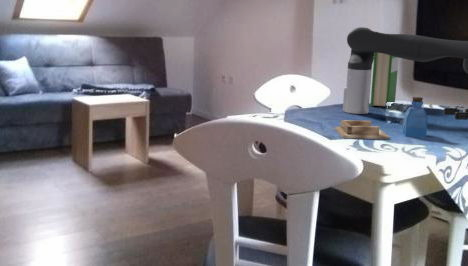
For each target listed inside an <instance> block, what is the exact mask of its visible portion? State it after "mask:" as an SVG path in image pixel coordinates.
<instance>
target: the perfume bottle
mask: <svg viewBox="0 0 468 266" xmlns="http://www.w3.org/2000/svg"><path fill="white" fill-rule="evenodd" d="M411 99H412V100H411V101H410V103H411V106H408V108H407V110H406V111H405V113H404V115H403V116H404V117H403V128H402V134H403V135H404V136H405V138H406V137H407V138H409V137H410V138H423V139H425V138H427V131H428V122H429V117H428V114H427V112H426V110H425V109H424V107H423V105H424V101H423V99H424V97H422V96H420V97H419V96H412V98H411Z"/></svg>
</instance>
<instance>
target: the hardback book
mask: <svg viewBox="0 0 468 266" xmlns="http://www.w3.org/2000/svg"><path fill="white" fill-rule="evenodd" d="M399 59H400V58H398V57H394V56H391V55H387V54H383V53H376V52H374V60H373V64H372V77H371V90H370V103H369V108H373V107H375V106H378V107H386V106H385V105H386V103H387V102H395V103H396V95H397V94H396V93H397V83H398V73H399V72H398V71H399Z"/></svg>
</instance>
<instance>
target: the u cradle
mask: <svg viewBox="0 0 468 266" xmlns="http://www.w3.org/2000/svg"><path fill="white" fill-rule="evenodd" d="M334 131H336V132H337V134H338V135H340V136H341V138H343V139H366V140H367V139H369V140H370V139H371V140H372V139H373V140H374V139H375V140H390V136H389V135H388V134H387V133H385V131H383V130H381V129H380V126H378V125H376V126H373V125H372V120H356V119H355V120H352V119H351V120H347V119H346V120H345V119H341V120H340V126H334Z"/></svg>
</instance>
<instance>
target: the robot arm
mask: <svg viewBox="0 0 468 266" xmlns="http://www.w3.org/2000/svg"><path fill="white" fill-rule="evenodd" d="M346 41H347V42H346V43H347V45H348V47H349V48H350V56H349V59H348V61H347V71H346V72H347V75H346V87H344V88H343V100H342V101H343V102H342V112H345V113H348V114H353V115H354V114H355V115H364V114H365V115H366V114H369V110H370V100H371V86H372V73H373V65H374V52H376V53H383V54H387V55H391V56H394V57H398V58H399V59H403V60H409V61H412V62H413V61H414V62H420V63H426V62H431V61H435V60H438V59H442V58H443V59H444V58H449V57H450V58H451V57H452V58H461V59H463V63H462V67H463V71H465V73H466V74H468V40H456V39H455V40H453V39H443V38H436V37H435V38H434V37H430V36H424V35H417V34H409V33H408V34H407V33H406V34H404V33H383V32H378V31H374V30H372V29H370V28H368V27H361V26H360V27H356V28H354V29H352V30H351V31H350V32H348V35H347V37H346ZM460 110H461V111H460ZM443 115H445V116H454V119H455V120H465V121H468V106H458V105H456V106H455V107H444V108H443Z"/></svg>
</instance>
